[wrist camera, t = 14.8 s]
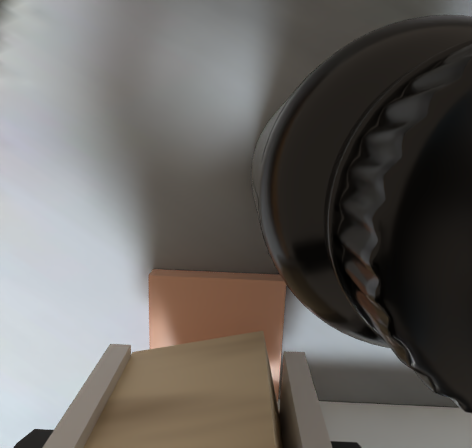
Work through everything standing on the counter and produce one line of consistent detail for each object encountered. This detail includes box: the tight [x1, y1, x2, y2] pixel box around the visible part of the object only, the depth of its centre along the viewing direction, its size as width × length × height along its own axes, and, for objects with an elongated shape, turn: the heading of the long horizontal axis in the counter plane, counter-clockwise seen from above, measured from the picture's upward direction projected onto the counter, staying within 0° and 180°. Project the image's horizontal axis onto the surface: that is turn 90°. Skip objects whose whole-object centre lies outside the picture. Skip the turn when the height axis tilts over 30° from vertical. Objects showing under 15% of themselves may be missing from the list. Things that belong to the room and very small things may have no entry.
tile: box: [149, 269, 286, 402], centre depth 17 cm, size 6×6×1 cm
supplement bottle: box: [251, 15, 472, 413], centre depth 10 cm, size 7×7×12 cm
